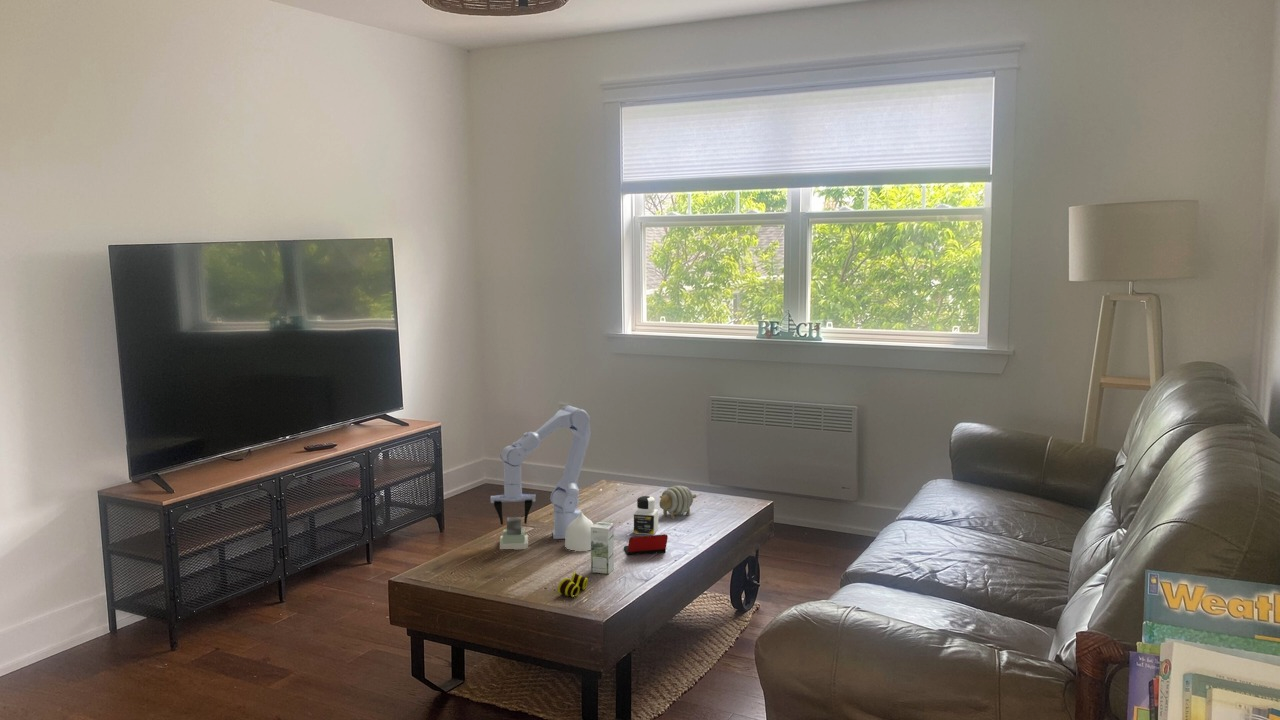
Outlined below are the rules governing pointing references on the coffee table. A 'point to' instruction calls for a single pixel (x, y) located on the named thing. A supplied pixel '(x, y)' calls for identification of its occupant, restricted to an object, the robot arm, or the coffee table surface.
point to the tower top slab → (513, 537)
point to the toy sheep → (676, 500)
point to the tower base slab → (514, 544)
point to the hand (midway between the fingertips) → (513, 523)
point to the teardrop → (579, 534)
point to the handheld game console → (646, 545)
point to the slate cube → (513, 525)
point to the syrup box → (602, 547)
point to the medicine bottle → (646, 516)
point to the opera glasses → (572, 585)
